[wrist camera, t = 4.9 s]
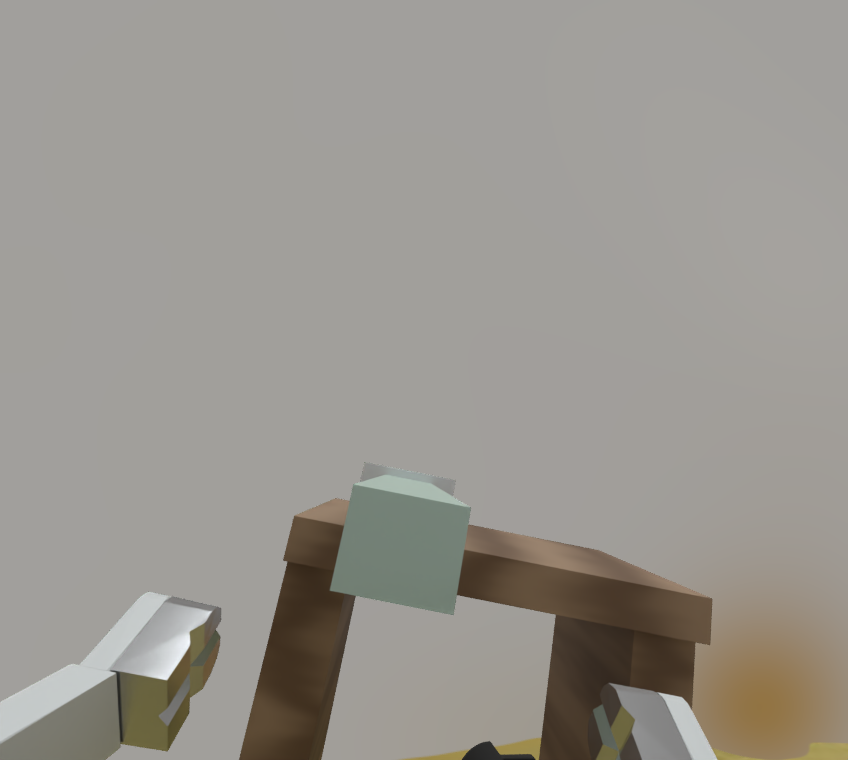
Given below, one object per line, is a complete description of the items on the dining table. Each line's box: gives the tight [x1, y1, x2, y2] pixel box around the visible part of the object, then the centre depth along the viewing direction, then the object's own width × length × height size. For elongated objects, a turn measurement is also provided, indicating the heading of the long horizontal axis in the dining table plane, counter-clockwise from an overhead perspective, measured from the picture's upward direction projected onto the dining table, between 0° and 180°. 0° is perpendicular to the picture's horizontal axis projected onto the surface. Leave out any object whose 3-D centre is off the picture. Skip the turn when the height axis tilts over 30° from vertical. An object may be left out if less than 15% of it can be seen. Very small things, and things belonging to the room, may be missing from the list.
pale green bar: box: [330, 462, 471, 615], centre depth 22 cm, size 6×24×3 cm, turn 2°
